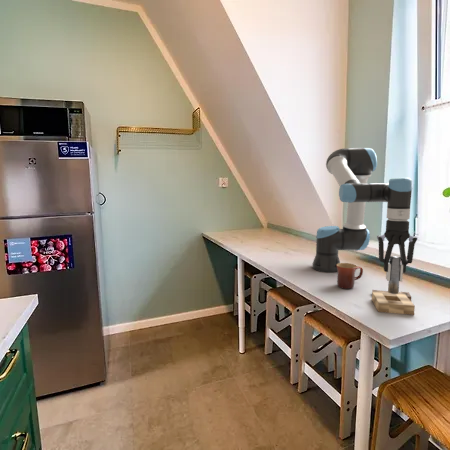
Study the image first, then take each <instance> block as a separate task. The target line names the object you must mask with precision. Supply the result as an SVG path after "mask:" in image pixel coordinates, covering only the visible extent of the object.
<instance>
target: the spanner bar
mask: <svg viewBox="0 0 450 450" xmlns="http://www.w3.org/2000/svg"><path fill="white" fill-rule="evenodd" d="M372 292H386V293H389V292H388V290H378V289H372ZM372 292H371V293H372ZM399 293H400V294H405V295H406V296H407V297H408V298H409V300H410V301H411V302H412V296H411V294H410V292H408V291H399Z"/></svg>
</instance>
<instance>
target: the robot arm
mask: <svg viewBox="0 0 450 450" xmlns="http://www.w3.org/2000/svg"><path fill="white" fill-rule="evenodd" d="M377 158H378V157H377V154H376V151H375V150H374V149H373V148H371V147H353V148H352V147H351V148H339V149H336V150H334V151H333V152H331V153H330V155H329V156H328V157H327V158H326V163H325V167H326V169H327V171H328V173H330V174H331V175H333V178H334V179H335V180H336V182H337V184H338V186H339V190H338V196H339V200H340V202H342V203H347V208H346V209H347V210H346V211H347V212H346V221H345V223H344V224H343V225H342V226H343V227H342V228H340V227H339V226H337V225H328V226H321V227H319V228H318V229H317V230H316V236H315V237H316V239H315V240H316V244H315V246H316V248H315V252H316V253H315V256H314V259H313V261H312V269H313V270H315V271H318V272H322V273H338V270H337V266H336V264H338V263H341V261H340V257H339V251H356V252H357V251H364V250H366V249H367V247H368V246H369V244H370V240H371V236H370V235H371V233H370V230H369V229H368V228H367V225H365V223H364V222H365V214H366V212H365V211H366V204H367V203H387V206H386V208H387V209H386V219H387V220H386V221H385V231H384V234H382V235H376V239H377V241H378V260H379V262H381V263H383V271H384V272H385V280H386V281H388V282H389V281H390V270H391V264H390V256H392V252H393V249H394V247H395V245H398V247H399V255H400V256H399V257H401V264H400V279H399V283H402V282H403V276H404V275H403V274H404V273H406V271H407V269H406V268H407V266H408V265H409V264H412V263H413V258H414V253H415V245H416V243H417V242H418V241H417V240H418V238H417V237H416V236H413V235H411V234H410V232H409V231H410V221H409V220H410V215H411V203H412V201H411V200H412V191H413V186H412V184H413V181H412V179H411V178H410V177H393V178H392V177H391V178H390V179H389V180H388V182H382V183H381V182H380V183H377V182H375V183H373V182H372V183H370V182H369V183H368V179H369V178H370V177H372V173H373V172H375V171H376V169H377V166H378V159H377ZM385 239H386V240H387V241H388V242H387V247H386V250H385V251H384V249H385V248H384V246H385V245H384V241H385ZM407 240H408V241H409V242H408V247H407V255H406V248H405V247H406V246H405V244H406V241H407ZM384 254H385V255H384Z"/></svg>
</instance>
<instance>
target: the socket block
mask: <svg viewBox="0 0 450 450" xmlns="http://www.w3.org/2000/svg"><path fill="white" fill-rule="evenodd" d="M371 301H372V303H373V305H374V307H375V308H376V310H377V312H378V313H385V314H386V313H388V314H397V315H398V314H399V315H409V316H411V315H412V316H414V315H415V310H416V309H415V305H414V302H412V300H411V301H410V300H409V298H408V297H407V296H406V295H405V294H400V293H398V294H391V293H386V292H371Z"/></svg>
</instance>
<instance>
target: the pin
mask: <svg viewBox="0 0 450 450" xmlns="http://www.w3.org/2000/svg"><path fill="white" fill-rule="evenodd" d="M389 263H390V264H391V270H390V281H388V285H387V286H388V287H387V291H388V292H389V293H391V294H398V293H399V292H400V291H399V290H400V281H399V279H400V264H401V263H402V262H401V257H400V256H399V255H397V256H396V255H391V256H390V260H389Z"/></svg>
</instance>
